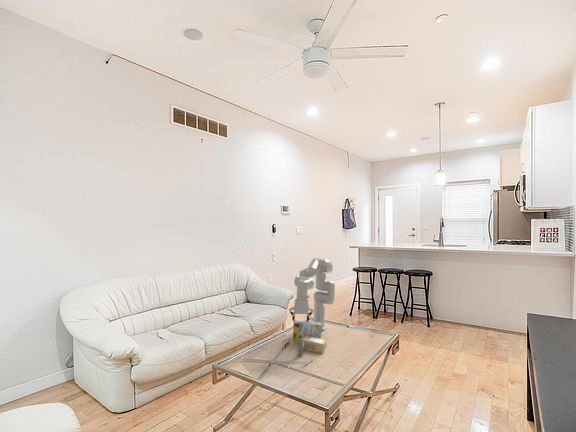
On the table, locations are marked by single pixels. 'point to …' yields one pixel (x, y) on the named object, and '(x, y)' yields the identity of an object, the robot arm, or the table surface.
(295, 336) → the snack box
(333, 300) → the robot arm
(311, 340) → the carton
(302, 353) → the flap
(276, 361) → the table surface
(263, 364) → the table surface
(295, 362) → the table surface
